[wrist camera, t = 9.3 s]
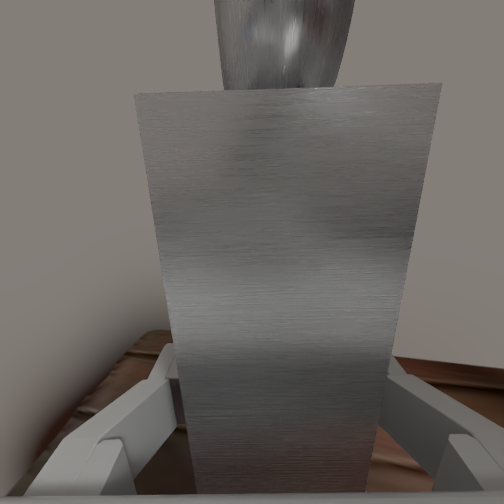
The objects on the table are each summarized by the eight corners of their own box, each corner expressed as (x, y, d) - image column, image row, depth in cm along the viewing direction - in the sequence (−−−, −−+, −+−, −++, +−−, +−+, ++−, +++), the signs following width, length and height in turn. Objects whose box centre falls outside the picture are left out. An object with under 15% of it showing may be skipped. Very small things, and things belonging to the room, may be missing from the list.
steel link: (332, 662, 10) (540, -439, 2) (223, 662, 10) (53, -412, 2) (309, 515, 14) (351, -40, 6) (232, 516, 14) (183, -32, 6)
